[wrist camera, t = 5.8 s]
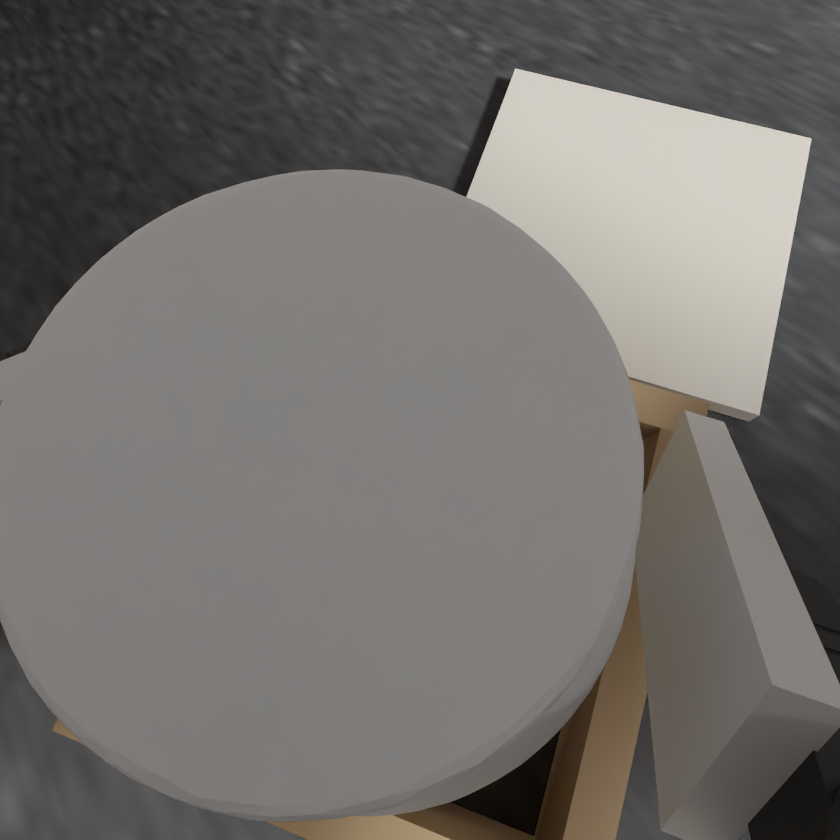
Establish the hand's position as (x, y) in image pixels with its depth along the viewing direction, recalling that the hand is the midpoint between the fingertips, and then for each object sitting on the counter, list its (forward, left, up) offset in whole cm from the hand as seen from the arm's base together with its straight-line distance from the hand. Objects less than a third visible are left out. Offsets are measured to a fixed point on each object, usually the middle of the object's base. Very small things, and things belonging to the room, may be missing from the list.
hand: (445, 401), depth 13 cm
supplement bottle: (0, +3, -5) cm, 6 cm away
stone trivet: (-3, -9, -5) cm, 10 cm away
